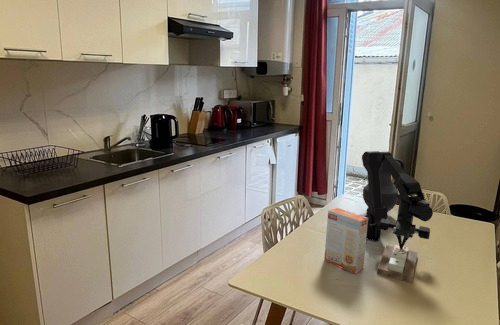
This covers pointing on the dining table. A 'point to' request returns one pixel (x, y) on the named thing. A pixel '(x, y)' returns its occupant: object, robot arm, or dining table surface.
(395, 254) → the tile two
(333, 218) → the cracker box
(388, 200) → the pitcher
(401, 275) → the frame board
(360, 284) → the dining table surface
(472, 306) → the dining table surface
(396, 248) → the tile three
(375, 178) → the robot arm
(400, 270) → the tile one
